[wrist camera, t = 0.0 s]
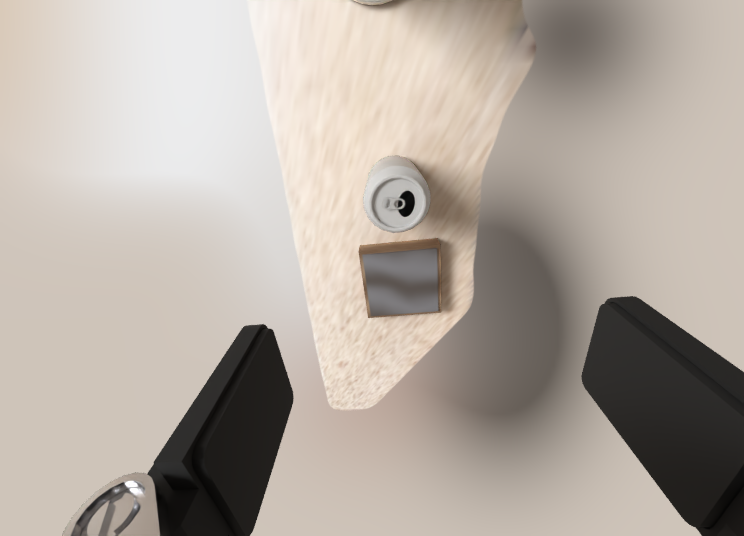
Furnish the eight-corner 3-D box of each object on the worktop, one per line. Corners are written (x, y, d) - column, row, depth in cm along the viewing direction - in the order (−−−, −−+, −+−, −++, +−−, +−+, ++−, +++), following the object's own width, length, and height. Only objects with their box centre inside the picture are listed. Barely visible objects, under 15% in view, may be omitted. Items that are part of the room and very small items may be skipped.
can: (416, 210, 44) (426, 240, 34) (365, 206, 44) (360, 235, 34) (424, 157, 41) (438, 171, 30) (369, 152, 41) (364, 164, 30)
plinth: (360, 244, 48) (358, 252, 45) (436, 237, 47) (440, 245, 44) (368, 307, 53) (368, 318, 50) (438, 302, 52) (441, 313, 49)
